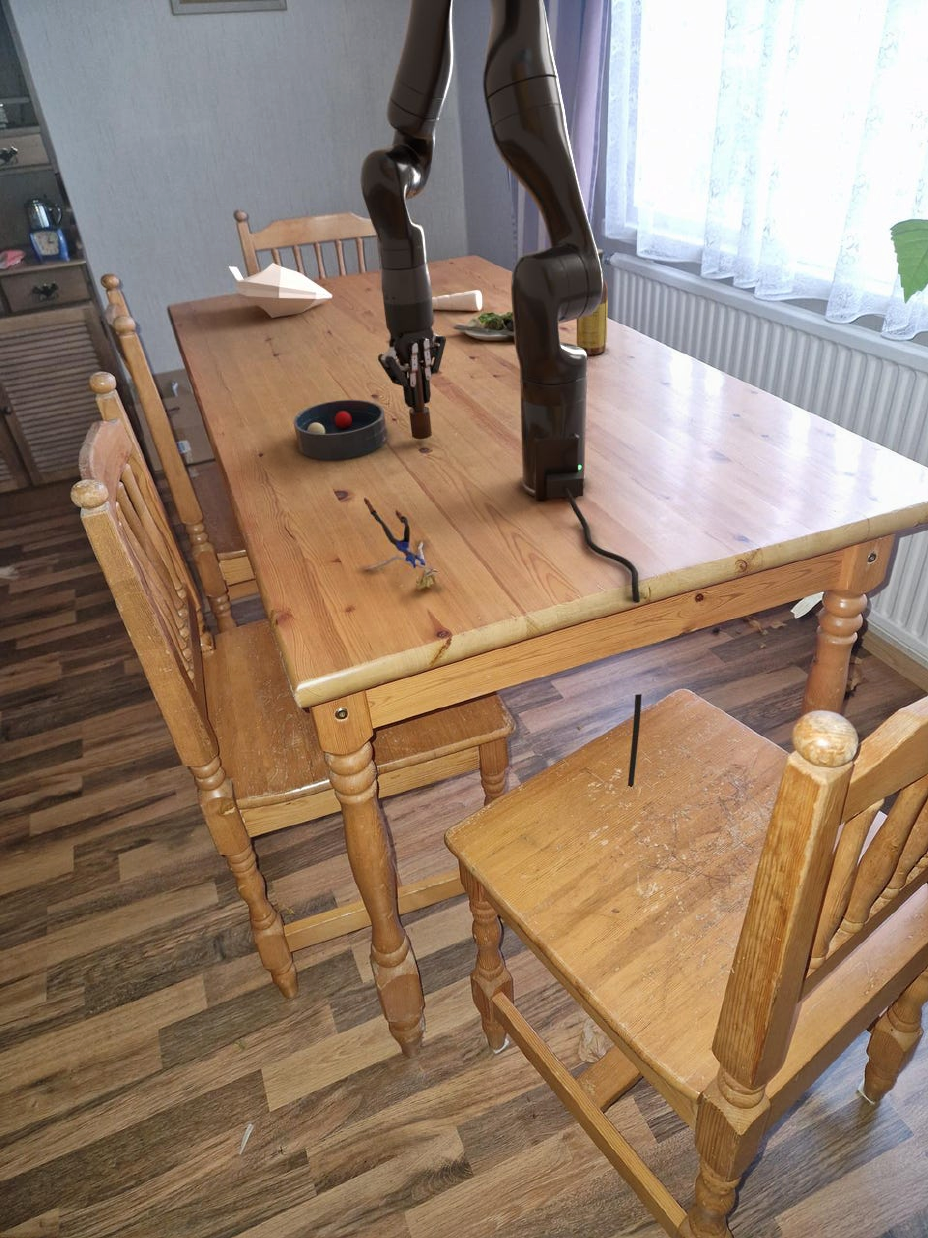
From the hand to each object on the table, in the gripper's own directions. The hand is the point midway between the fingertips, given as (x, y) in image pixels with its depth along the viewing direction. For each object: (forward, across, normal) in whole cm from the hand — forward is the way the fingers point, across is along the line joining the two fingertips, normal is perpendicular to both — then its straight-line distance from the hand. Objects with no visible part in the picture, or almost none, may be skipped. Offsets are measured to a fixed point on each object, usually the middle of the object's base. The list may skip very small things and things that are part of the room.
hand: (418, 404), depth 134 cm
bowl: (+7, -8, +12) cm, 16 cm away
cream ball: (+5, -11, +15) cm, 19 cm away
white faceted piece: (+6, +37, +90) cm, 97 cm away
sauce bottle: (+7, +53, +3) cm, 54 cm away
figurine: (+7, -30, -27) cm, 41 cm away
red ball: (+4, -5, +15) cm, 16 cm away
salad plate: (+6, +54, +28) cm, 61 cm away
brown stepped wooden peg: (+5, 0, 0) cm, 5 cm away
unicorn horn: (+6, +60, +54) cm, 81 cm away
